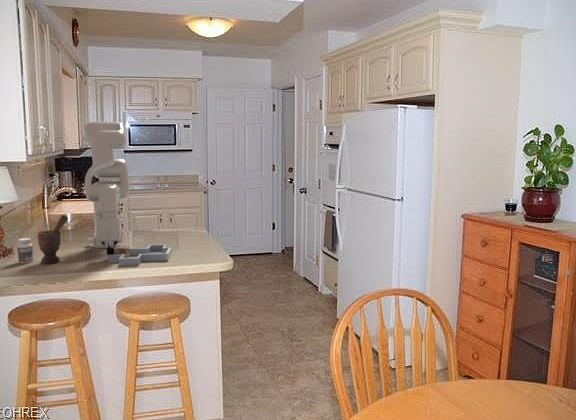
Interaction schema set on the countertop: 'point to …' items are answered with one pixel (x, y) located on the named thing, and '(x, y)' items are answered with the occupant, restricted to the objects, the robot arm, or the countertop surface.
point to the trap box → (143, 255)
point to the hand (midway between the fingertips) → (110, 256)
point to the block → (122, 251)
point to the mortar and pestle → (51, 242)
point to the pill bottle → (25, 251)
